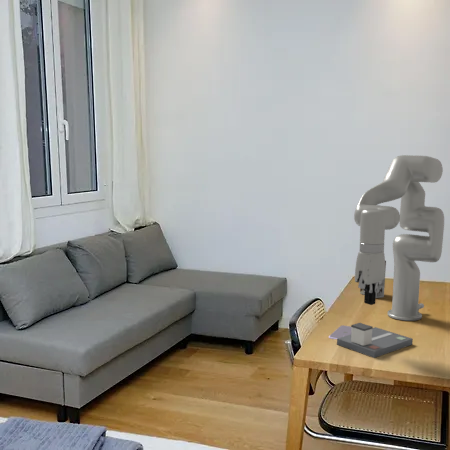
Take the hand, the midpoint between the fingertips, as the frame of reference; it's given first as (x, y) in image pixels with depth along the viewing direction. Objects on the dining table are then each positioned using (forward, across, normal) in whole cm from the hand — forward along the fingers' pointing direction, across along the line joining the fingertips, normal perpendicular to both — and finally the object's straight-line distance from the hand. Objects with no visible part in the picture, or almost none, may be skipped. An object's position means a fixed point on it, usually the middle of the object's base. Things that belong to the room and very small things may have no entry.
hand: (369, 303), depth 191 cm
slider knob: (+12, +4, 0) cm, 13 cm away
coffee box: (+17, -53, -40) cm, 68 cm away
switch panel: (+14, -3, 0) cm, 15 cm away
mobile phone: (+15, -4, -13) cm, 20 cm away
